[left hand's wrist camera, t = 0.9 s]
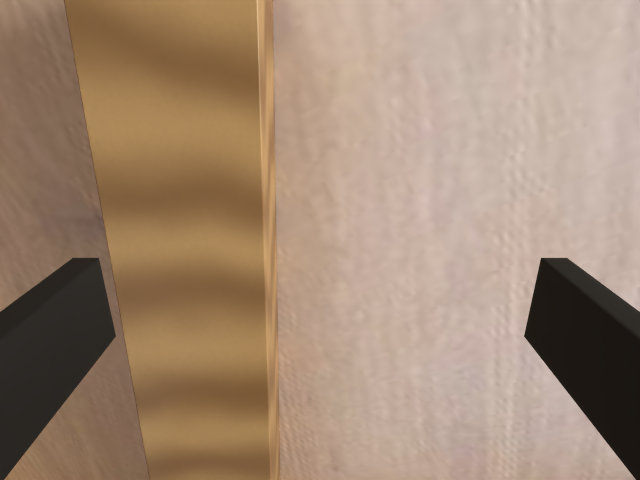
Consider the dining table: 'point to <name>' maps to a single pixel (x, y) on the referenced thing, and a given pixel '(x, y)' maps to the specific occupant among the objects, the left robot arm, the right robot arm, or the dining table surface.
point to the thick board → (189, 221)
